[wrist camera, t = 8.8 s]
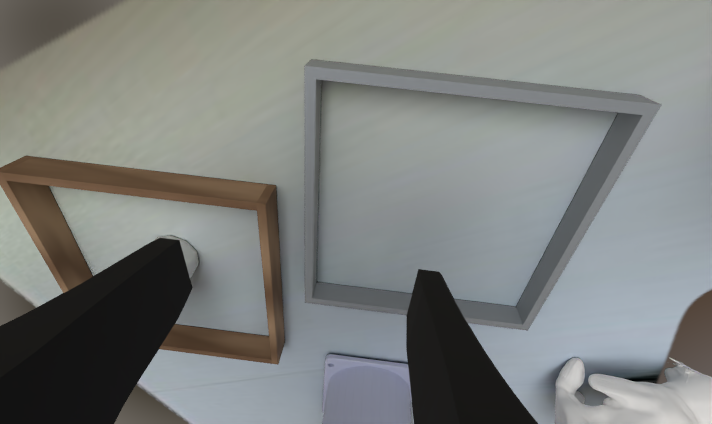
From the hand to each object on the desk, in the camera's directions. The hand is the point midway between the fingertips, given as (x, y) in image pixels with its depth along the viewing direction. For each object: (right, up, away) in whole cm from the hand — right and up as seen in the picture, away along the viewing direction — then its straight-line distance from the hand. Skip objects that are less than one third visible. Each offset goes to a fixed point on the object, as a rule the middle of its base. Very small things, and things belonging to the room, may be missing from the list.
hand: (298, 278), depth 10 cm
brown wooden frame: (-11, -2, +14) cm, 18 cm away
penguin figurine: (+22, -10, +16) cm, 30 cm away
